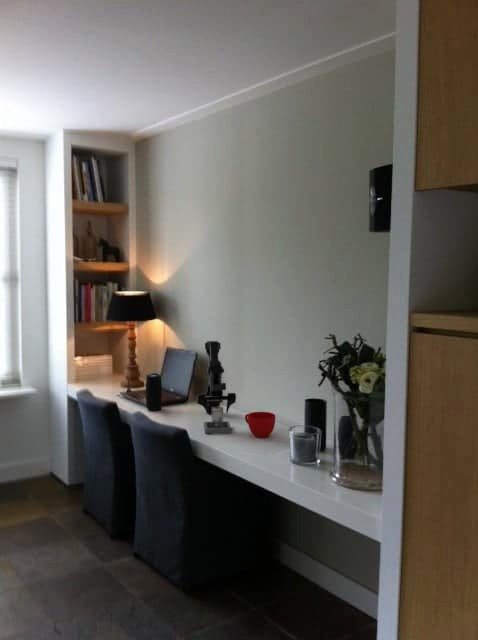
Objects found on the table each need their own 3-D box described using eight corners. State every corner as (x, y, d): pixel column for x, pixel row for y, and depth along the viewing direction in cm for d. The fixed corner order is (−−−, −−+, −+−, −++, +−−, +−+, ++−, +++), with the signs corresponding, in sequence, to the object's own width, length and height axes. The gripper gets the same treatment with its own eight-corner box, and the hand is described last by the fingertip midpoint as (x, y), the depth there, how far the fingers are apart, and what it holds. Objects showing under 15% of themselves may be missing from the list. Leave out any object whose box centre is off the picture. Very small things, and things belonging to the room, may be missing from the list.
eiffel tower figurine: (115, 396, 374) (115, 374, 372) (131, 394, 379) (130, 372, 378) (124, 400, 361) (124, 378, 360) (140, 398, 366) (140, 376, 365)
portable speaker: (144, 411, 334) (143, 375, 332) (148, 407, 343) (148, 372, 341) (159, 411, 333) (159, 376, 331) (163, 407, 342) (163, 373, 340)
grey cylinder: (216, 427, 302) (216, 405, 301) (227, 429, 298) (227, 407, 297) (207, 430, 297) (207, 408, 296) (218, 432, 293) (218, 410, 292)
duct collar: (203, 426, 303) (203, 421, 303) (228, 426, 304) (228, 421, 304) (205, 434, 291) (205, 428, 290) (231, 433, 292) (231, 428, 292)
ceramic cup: (255, 429, 300) (255, 408, 299) (281, 436, 288) (281, 415, 287) (236, 434, 291) (236, 413, 290) (262, 441, 279) (262, 420, 278)
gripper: (197, 377, 298) (198, 405, 288) (235, 376, 300) (238, 404, 290) (196, 389, 306) (197, 417, 297) (234, 389, 308) (236, 416, 299)
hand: (217, 413), depth 295 cm, fingers open, 9 cm apart
